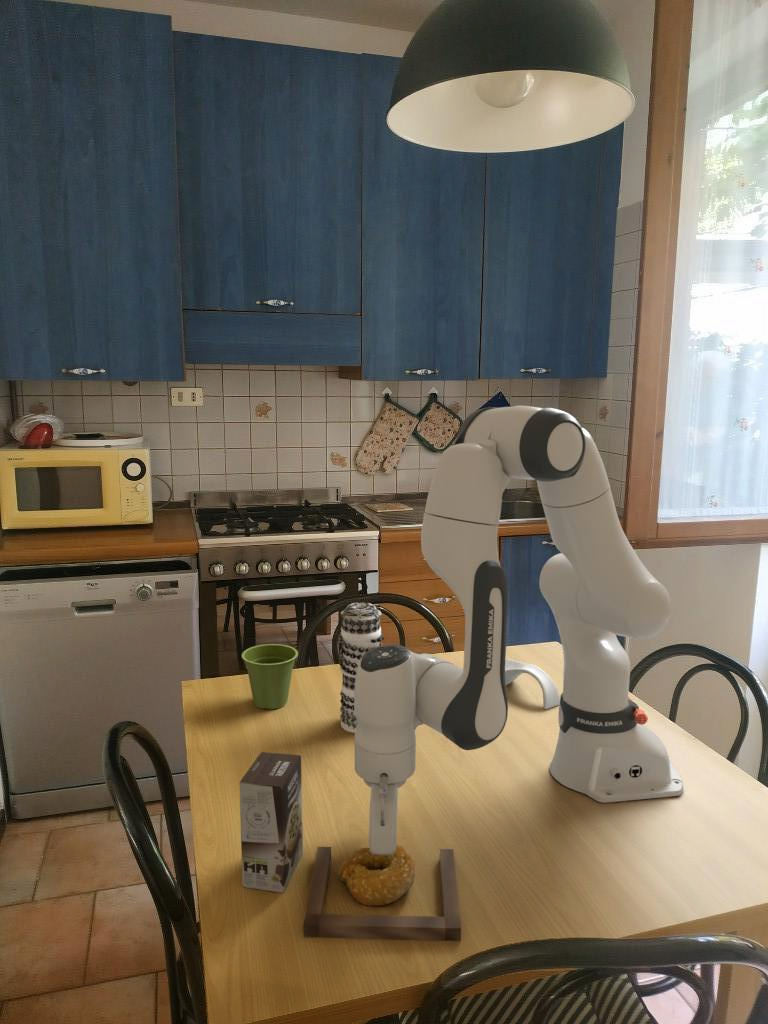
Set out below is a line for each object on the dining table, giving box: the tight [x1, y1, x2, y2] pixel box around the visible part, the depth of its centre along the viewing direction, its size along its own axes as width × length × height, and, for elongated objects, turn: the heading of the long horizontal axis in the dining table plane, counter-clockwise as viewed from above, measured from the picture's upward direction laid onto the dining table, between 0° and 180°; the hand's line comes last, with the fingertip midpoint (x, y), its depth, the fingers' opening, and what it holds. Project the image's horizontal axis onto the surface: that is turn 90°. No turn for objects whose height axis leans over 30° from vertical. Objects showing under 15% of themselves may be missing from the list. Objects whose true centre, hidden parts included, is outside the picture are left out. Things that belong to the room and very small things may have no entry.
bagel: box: [338, 843, 416, 907], centre depth 107 cm, size 10×11×5 cm
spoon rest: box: [505, 658, 560, 710], centre depth 171 cm, size 24×12×7 cm, turn 38°
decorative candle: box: [337, 601, 385, 734], centre depth 153 cm, size 9×9×25 cm
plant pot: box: [241, 643, 299, 710], centre depth 163 cm, size 12×12×11 cm
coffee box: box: [238, 751, 304, 894], centre depth 109 cm, size 9×6×16 cm
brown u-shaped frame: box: [302, 846, 462, 941], centre depth 105 cm, size 20×16×2 cm
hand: (384, 843), depth 113 cm, fingers closed
